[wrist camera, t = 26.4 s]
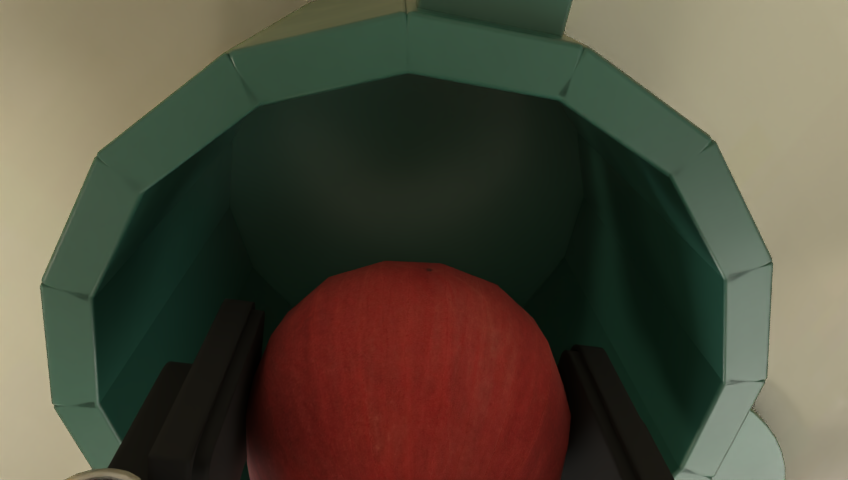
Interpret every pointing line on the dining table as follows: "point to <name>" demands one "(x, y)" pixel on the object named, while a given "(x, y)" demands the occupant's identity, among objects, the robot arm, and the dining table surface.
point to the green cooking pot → (417, 210)
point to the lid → (753, 454)
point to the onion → (407, 383)
